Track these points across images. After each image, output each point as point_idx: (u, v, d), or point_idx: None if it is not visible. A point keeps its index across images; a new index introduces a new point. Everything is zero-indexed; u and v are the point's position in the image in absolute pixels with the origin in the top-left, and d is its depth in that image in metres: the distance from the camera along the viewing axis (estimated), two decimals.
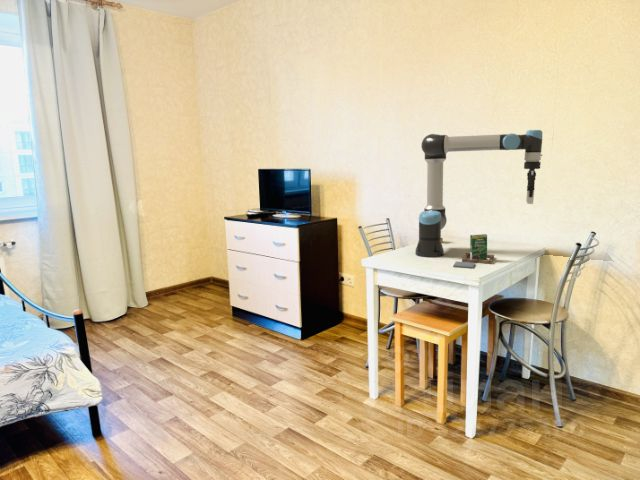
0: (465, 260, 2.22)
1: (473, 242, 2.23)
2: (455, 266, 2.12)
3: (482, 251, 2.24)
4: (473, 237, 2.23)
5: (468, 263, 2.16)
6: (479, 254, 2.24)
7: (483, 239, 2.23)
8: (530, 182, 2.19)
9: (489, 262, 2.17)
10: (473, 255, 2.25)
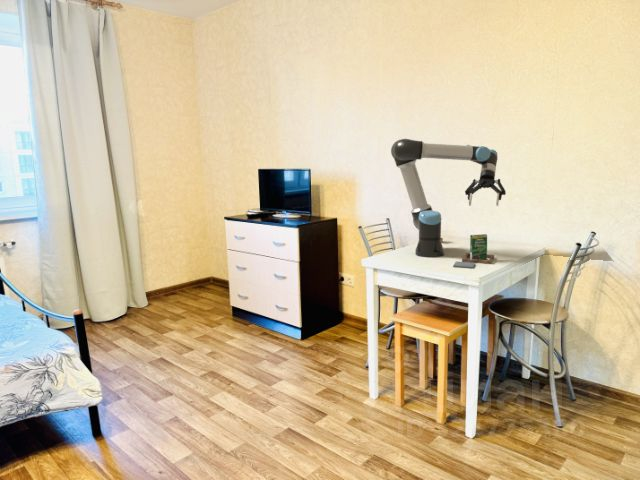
0: (465, 260, 2.22)
1: (473, 242, 2.23)
2: (455, 266, 2.12)
3: (482, 251, 2.24)
4: (473, 237, 2.23)
5: (468, 263, 2.16)
6: (479, 254, 2.24)
7: (483, 239, 2.23)
8: None
9: (489, 262, 2.17)
10: (473, 255, 2.25)
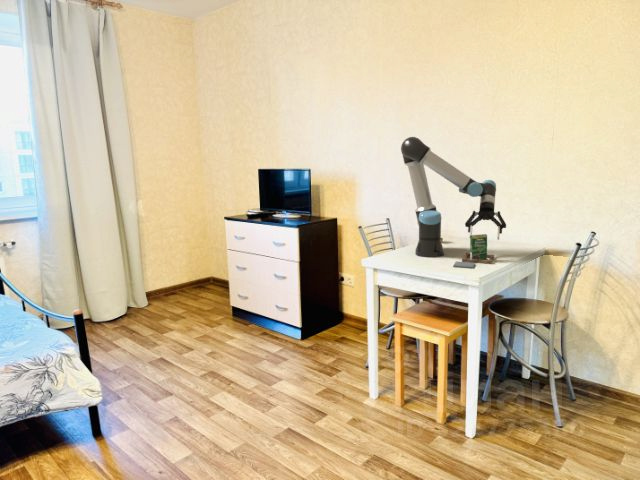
0: (465, 260, 2.22)
1: (473, 242, 2.23)
2: (455, 266, 2.12)
3: (482, 251, 2.24)
4: (473, 237, 2.23)
5: (468, 263, 2.16)
6: (479, 254, 2.24)
7: (483, 239, 2.23)
8: None
9: (489, 262, 2.17)
10: (473, 255, 2.25)
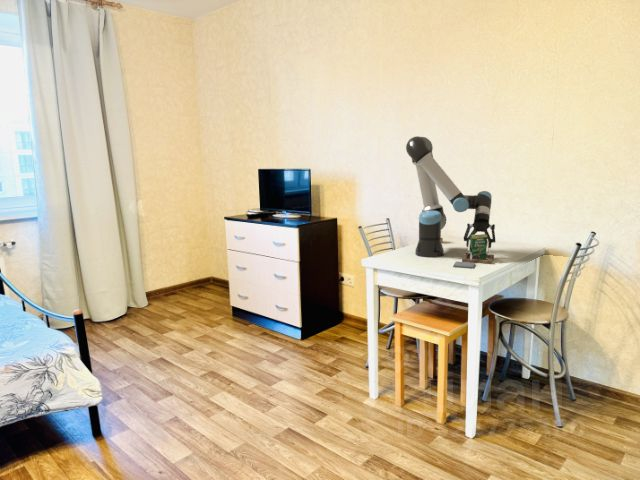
0: (465, 260, 2.22)
1: (473, 242, 2.23)
2: (455, 266, 2.12)
3: (482, 251, 2.24)
4: (473, 237, 2.23)
5: (468, 263, 2.16)
6: (479, 254, 2.24)
7: (483, 239, 2.23)
8: (494, 234, 2.24)
9: (489, 262, 2.17)
10: (473, 255, 2.24)
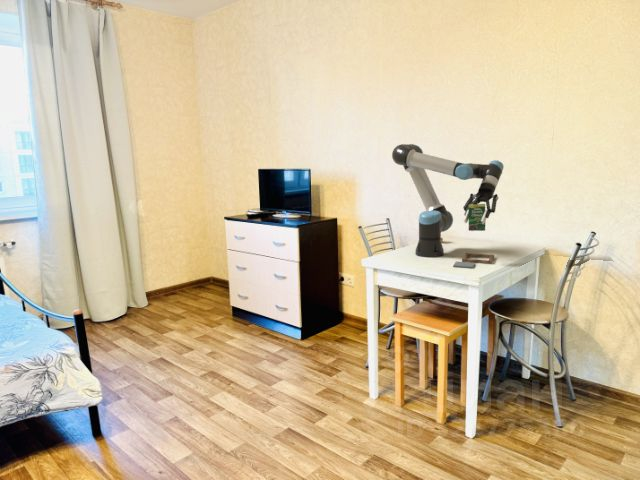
0: (465, 260, 2.22)
1: (470, 211, 2.17)
2: (455, 266, 2.12)
3: (480, 221, 2.16)
4: (470, 206, 2.16)
5: (468, 263, 2.16)
6: (477, 224, 2.17)
7: (480, 208, 2.15)
8: (494, 204, 2.14)
9: (489, 262, 2.17)
10: (470, 225, 2.18)
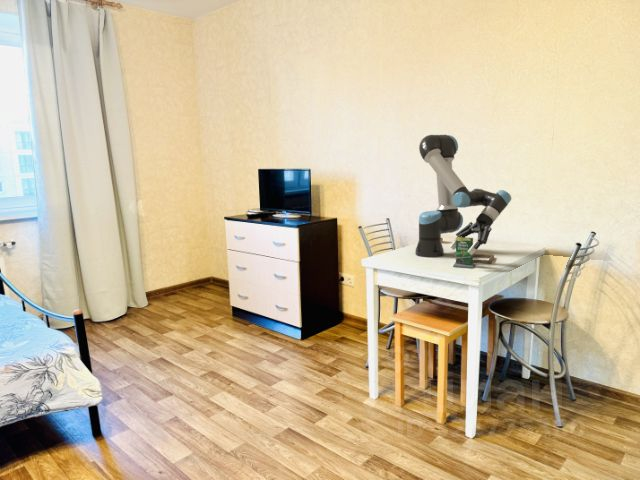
0: None
1: (457, 244, 2.15)
2: (455, 266, 2.12)
3: (465, 255, 2.12)
4: (456, 239, 2.14)
5: None
6: (462, 258, 2.14)
7: (466, 242, 2.11)
8: (485, 235, 2.06)
9: (489, 262, 2.17)
10: (457, 258, 2.16)
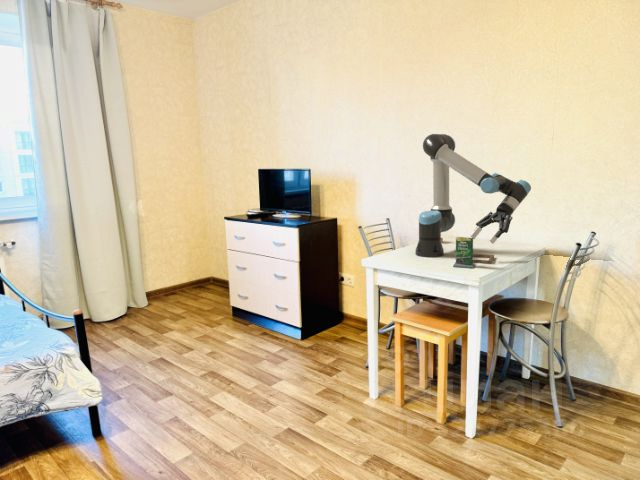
0: None
1: (457, 244, 2.15)
2: (455, 266, 2.12)
3: (465, 255, 2.12)
4: (456, 239, 2.14)
5: None
6: (463, 258, 2.14)
7: (466, 242, 2.11)
8: (507, 224, 2.09)
9: (489, 262, 2.17)
10: (457, 258, 2.16)
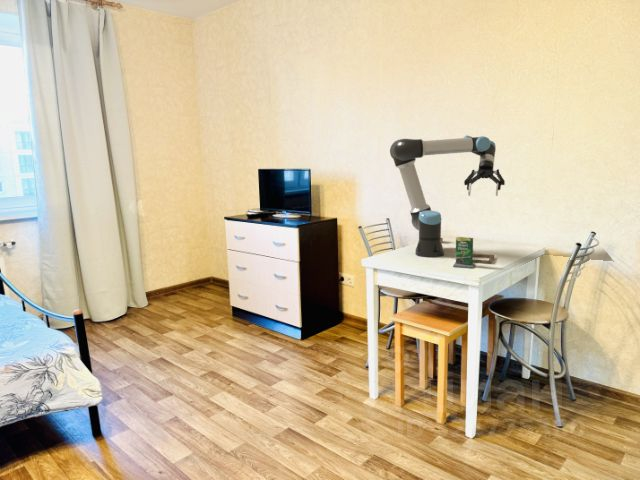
0: None
1: (457, 244, 2.15)
2: (455, 266, 2.12)
3: (465, 255, 2.12)
4: (456, 239, 2.14)
5: None
6: (463, 258, 2.14)
7: (466, 242, 2.11)
8: None
9: (489, 262, 2.17)
10: (457, 258, 2.16)
